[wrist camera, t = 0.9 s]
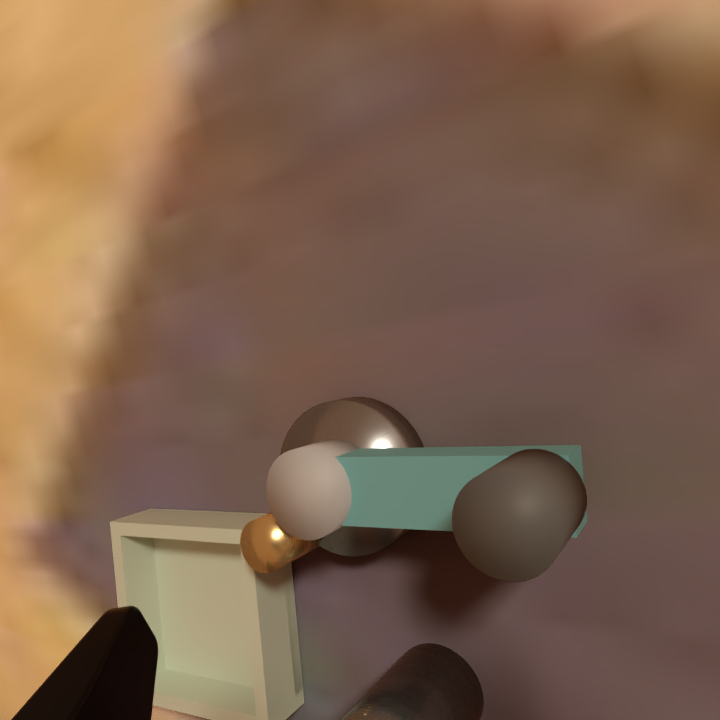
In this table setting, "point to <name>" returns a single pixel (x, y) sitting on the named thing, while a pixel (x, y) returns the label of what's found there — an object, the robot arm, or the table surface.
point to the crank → (439, 497)
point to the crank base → (324, 421)
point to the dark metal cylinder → (423, 689)
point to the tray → (210, 614)
